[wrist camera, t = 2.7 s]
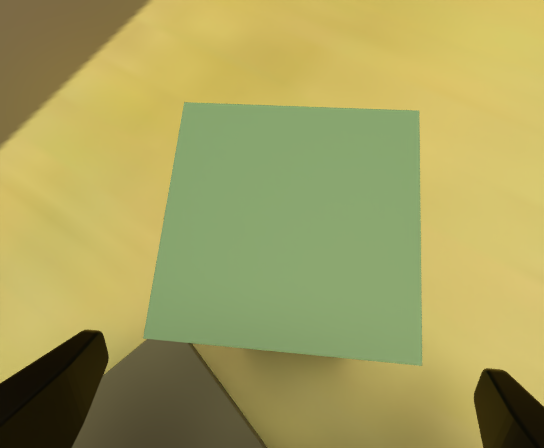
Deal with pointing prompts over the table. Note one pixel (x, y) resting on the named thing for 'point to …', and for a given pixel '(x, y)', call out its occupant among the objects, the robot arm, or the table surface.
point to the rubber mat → (164, 404)
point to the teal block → (293, 233)
